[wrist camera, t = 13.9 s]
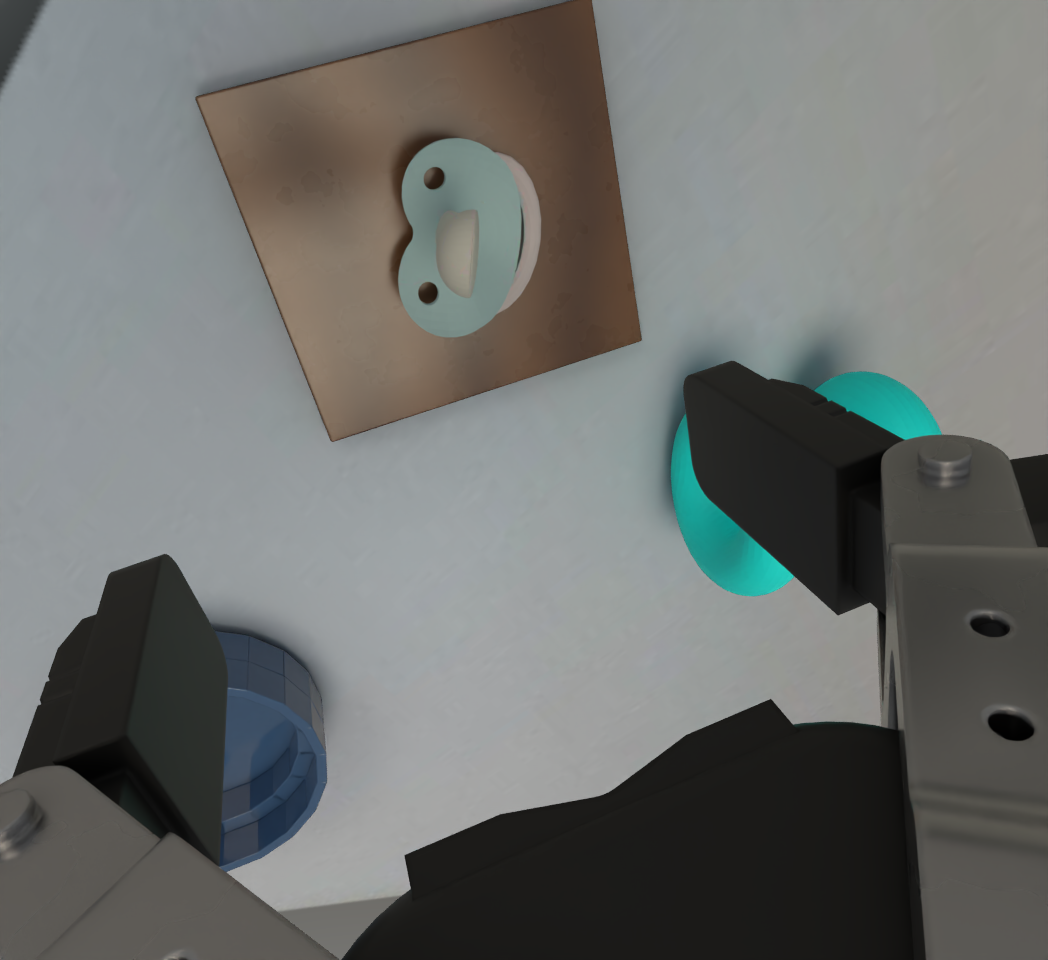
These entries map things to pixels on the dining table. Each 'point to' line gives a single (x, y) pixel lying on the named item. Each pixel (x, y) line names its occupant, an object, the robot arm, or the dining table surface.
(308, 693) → the bowl
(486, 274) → the pacifier
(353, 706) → the dining table surface
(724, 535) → the donuts
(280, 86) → the board
